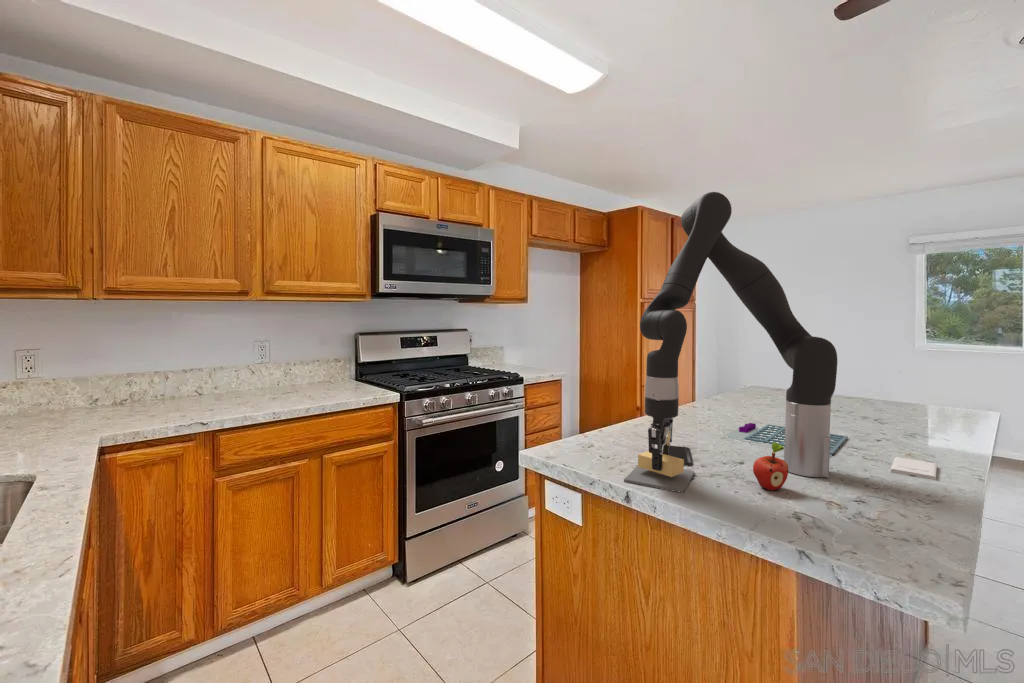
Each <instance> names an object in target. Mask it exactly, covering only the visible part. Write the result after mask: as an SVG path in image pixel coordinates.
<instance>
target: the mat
mask: <svg viewBox="0 0 1024 683" xmlns="http://www.w3.org/2000/svg"><path fill="white" fill-rule="evenodd" d="M694 473H695V471H693V470H689V469H688V470H687V469H684V472H683V473H680V474H678V475H675V476H673V477H670V476H667V475H664V474H660V473H657V472H654V471H650V470H647V469H644V468H640V467H638V465H637V466H636V467H635V468H634V469H633V470H632V471H631V472H629V474H628V475H627V476H626V477H624V479H623V482H624V483H628V482H632V483H631V484H633V483H637V484H636V485H638V484H642V485H641V486H643V485H646V486H645V487H649V486H653V487H652V488H654V487H657V488H656V489H659V488H663V489H662V490H664V489H668V490H667V491H670V490H674V491H673V492H675V491H680V492H683V491H685V490H686V489H685V487H686V486H687V487H688V485H689V484H690V482H691V480H692V479H693V478H694V477H693V475H695V474H696V473H695V474H694ZM691 478H692V479H691ZM689 481H690V482H689ZM688 483H689V484H688ZM687 484H688V485H687ZM687 487H686V488H687ZM684 489H685V490H684ZM680 492H679V493H680ZM683 493H684V492H683Z"/></svg>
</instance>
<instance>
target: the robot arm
mask: <svg viewBox="0 0 1024 683" xmlns="http://www.w3.org/2000/svg"><path fill="white" fill-rule="evenodd" d="M732 208H733V207H732V204H731V202H730V200H729V199H728V198H727V196H726V195H724V194H723V193H721V192H718V191H709V192H707V193H705V194H703V195H701V196H700V197H698V198H697V199H696V200H695V201H694V202H692V204H690V205H689V206H688V207H686V209H685V210H684V211H683V212H682V214H681V217H680V218H681V219H680V222H681V224H680V225H681V227H682V229H683V231H684V232H685V234H686V235H687V239H686V241H685V243H684V245H683V247H681V249H680V251H679V252H678V254H677V256H676V257H675V259H674V261H672V263H671V265H670V268H669V270H668V271H667V274H666V276H665V278H664V280H663V282H662V285H661V288H660V290H659V292H657V294H656V296H654V298H653V299H652V300H651V302H650V303H649V304H648V305H647V307H646V308H645V310H644V311H643V313H642V315H641V317H640V322H639V330H640V334H641V335H642V336H643V338H645V339H648V340H651V341H653V340H654V341H662V343H661V346H660V348H659V349H658V350H657V349H655V350H652V351H650V352H648V353H647V357H646V377H645V385H644V415H646V416H648V417H650V418H652V423H650V427H648V429H647V433H648V434H647V435H648V436H647V438H648V451H649V453H652V469H653V470H658V471H661V470H662V458H663V454H665V455H669V447H670V446H671V443H672V441H673V423H674V418H677V417H678V416H679V401H680V400H679V397H680V396H679V393H680V392H679V391H680V386H679V385H680V384H679V358H680V354H681V352H682V348H683V345H684V341H685V338H686V334H687V329H688V324H687V323H688V322H687V319H686V317H685V315H684V314H683V313H682V311H679V310H678V309H681V308H684V307H687V305H688V304H689V302H690V300H691V298H692V295H693V293H694V290H695V289H696V288H695V287H696V285H697V282H698V280H699V276H700V275H701V272H702V270H703V268H704V265H705V263H706V261H707V260H708V259H709V260H710V261H711V263H712V264H713V265H714V267H715V268H716V269H717V270H718V272H719V273H720V274H721V275H722V277H723V278H724V279H725V280H726V282H727V283H728V286H730V288H731V290H733V292H734V293H735V294H736V295H737V298H738V299H739V300H740V301H741V303H742V304H743V305H744V306H745V307H746V309H747V310H748V311H749V313H750V314H751V315H752V316H753V317H754V318H755V320H756V321H757V322H758V323H759V324H760V325H761V327H763V329H764V330H765V331H766V332H767V334H768V336H769V338H771V340H772V342H773V344H774V345H775V347H776V349H777V350H778V352H779V354H780V355H781V357H782V359H783V361H784V363H785V364H786V365H787V366H788V367H789V368H790V369H791V370H792V381H791V385H790V387H789V388H787V390H786V394H785V400H786V401H785V420H784V421H785V424H784V427H785V444H784V450H783V451H784V452H783V460H784V461H785V462H786V463H787V465H788V473H791V474H795V475H798V476H804V477H809V478H827V479H828V478H830V477H829V476H830V459H831V458H830V434H831V432H830V431H831V407H832V406H831V405H832V397H833V395H834V393H835V391H836V384H837V383H836V382H837V374H838V373H837V372H838V352H837V349H836V347H835V345H834V344H833V343H832V342H831V341H830V340H828V339H826V338H823V337H819V336H812V335H811V334H810V332H808V331H807V329H805V328H804V326H803V325H802V324H801V323H800V322H799V320H798V319H797V318H796V316H795V315H794V313H793V311H792V309H791V307H790V304H789V301H788V299H787V298H788V297H787V295H786V293H785V291H784V288H783V287H782V285H781V283H780V282H779V280H778V279H777V277H776V276H775V275H774V274H773V272H772V271H771V269H770V268H769V267H768V266H767V265H766V264H765V263H764V262H763V261H761V260H760V259H758V258H757V257H756V256H753V255H751V254H749V253H747V252H745V251H743V250H742V249H739V248H738V247H737V246H735V245H734V244H733V243H731V242H730V240H729V239H727V237H726V236H725V235H724V233H723V230H724V229H725V227H726V226H727V223H728V222H729V221H730V219H731V216H732ZM655 445H656V446H657V447H655Z"/></svg>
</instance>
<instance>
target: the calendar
mask: <svg viewBox="0 0 1024 683" xmlns="http://www.w3.org/2000/svg"><path fill="white" fill-rule="evenodd" d="M756 424H757V423H753V422H748V423H744V425H742V426H739V427H738V428H736V429H734V430H733V431H730V432H728V433H727V434H725V435H723V437H726V436H728V437H727V438H729V439H736V440H739V441H743V440H750V441H751V443H756V444H758V443H759V442H763V443H765V444H766V443H769V444H772V443H773V442H779V444H780V445H781V446H784V443H785V439H784V438H785V436H782V435H785V426H781V425H775V424H766V426H764V427H762V428H761V429H759V428H758V427H757V425H756ZM769 426H772V427H769ZM775 427H776V428H775ZM768 428H770V429H768ZM758 429H759V430H758ZM774 429H777V430H774ZM766 430H769V431H766ZM773 431H776V432H773ZM763 432H767V433H763ZM781 432H782V433H781ZM770 433H774V434H770ZM760 434H763V435H760ZM778 434H780V435H778ZM766 435H771V436H766ZM758 436H759V437H758ZM775 436H776V437H775ZM764 437H766V438H764ZM778 437H782V438H778ZM727 438H726V439H727ZM738 438H741V439H738ZM847 438H848V435H840V434H835V433H830V459H831V458H832V457H833V456H834V455H835V454H834V453H837V452H838V450H839V449H840V448H841V447H842V446H843V445H844V443H845V442H847V440H848V439H847ZM729 439H728V440H729ZM760 439H761V440H760ZM774 439H778V440H774ZM846 439H847V440H846ZM780 440H784V441H780ZM770 441H773V442H770ZM763 443H759V444H763ZM767 445H768V444H767ZM841 445H842V446H841ZM840 446H841V447H840ZM839 447H840V448H839ZM833 454H834V455H833ZM832 455H833V456H832Z"/></svg>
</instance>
